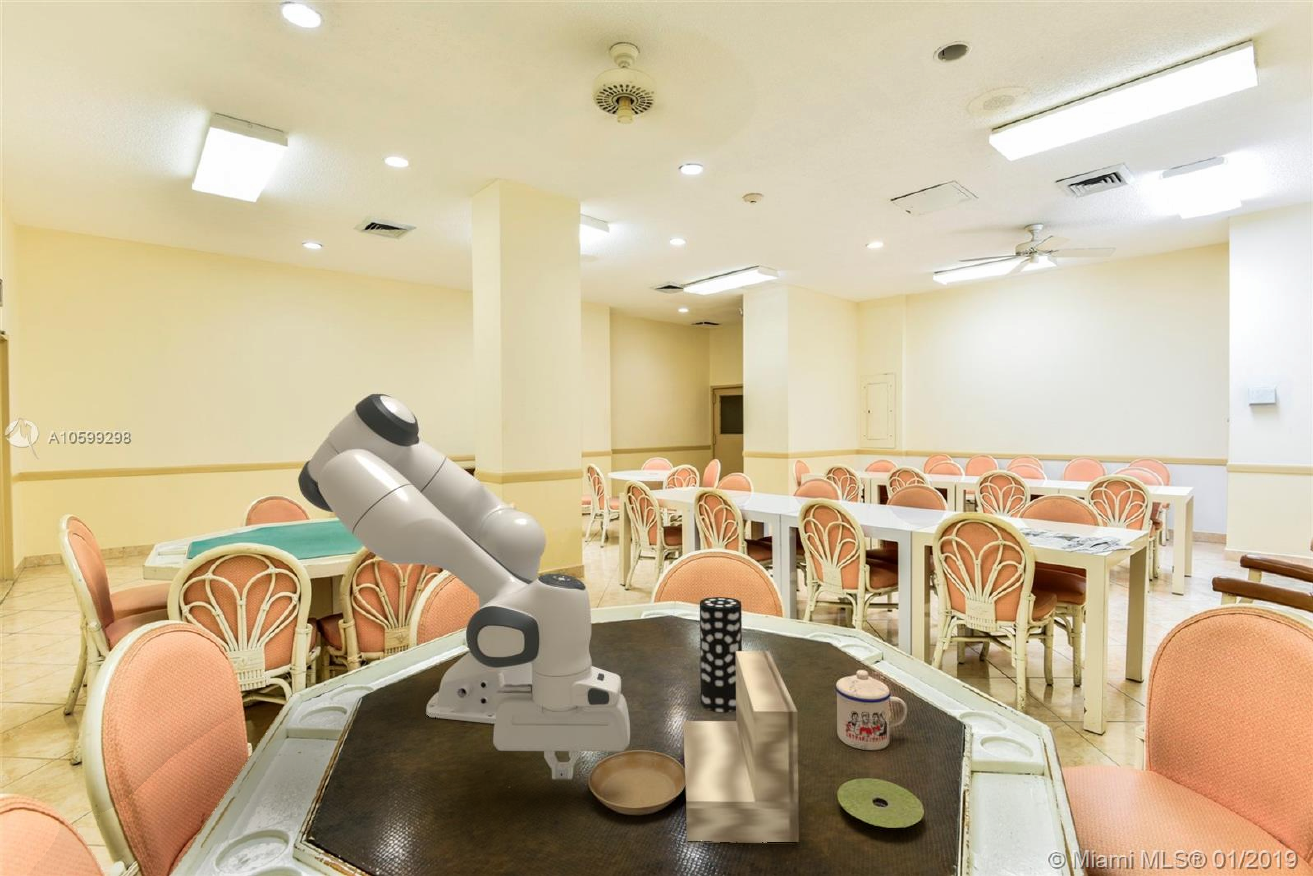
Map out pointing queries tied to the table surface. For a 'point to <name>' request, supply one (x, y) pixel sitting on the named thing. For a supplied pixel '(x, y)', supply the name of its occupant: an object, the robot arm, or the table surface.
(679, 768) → the plant saucer
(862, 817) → the green disc with hole
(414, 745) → the table surface
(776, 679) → the wooden step block
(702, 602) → the white-spotted black cylinder
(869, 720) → the teacup with lid
